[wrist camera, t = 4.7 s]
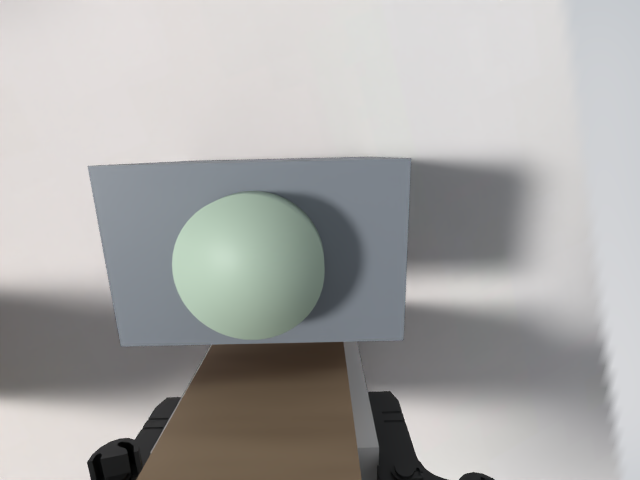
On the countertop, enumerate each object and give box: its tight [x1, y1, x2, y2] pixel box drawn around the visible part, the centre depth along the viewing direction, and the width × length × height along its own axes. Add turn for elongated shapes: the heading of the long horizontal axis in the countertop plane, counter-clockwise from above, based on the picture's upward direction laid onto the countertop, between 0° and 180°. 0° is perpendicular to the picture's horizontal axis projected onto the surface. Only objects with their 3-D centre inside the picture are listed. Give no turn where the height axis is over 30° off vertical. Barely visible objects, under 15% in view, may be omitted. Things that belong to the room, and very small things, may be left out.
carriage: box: [136, 342, 362, 480], centre depth 12 cm, size 5×5×9 cm
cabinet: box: [88, 157, 411, 347], centre depth 12 cm, size 5×8×8 cm, turn 91°
